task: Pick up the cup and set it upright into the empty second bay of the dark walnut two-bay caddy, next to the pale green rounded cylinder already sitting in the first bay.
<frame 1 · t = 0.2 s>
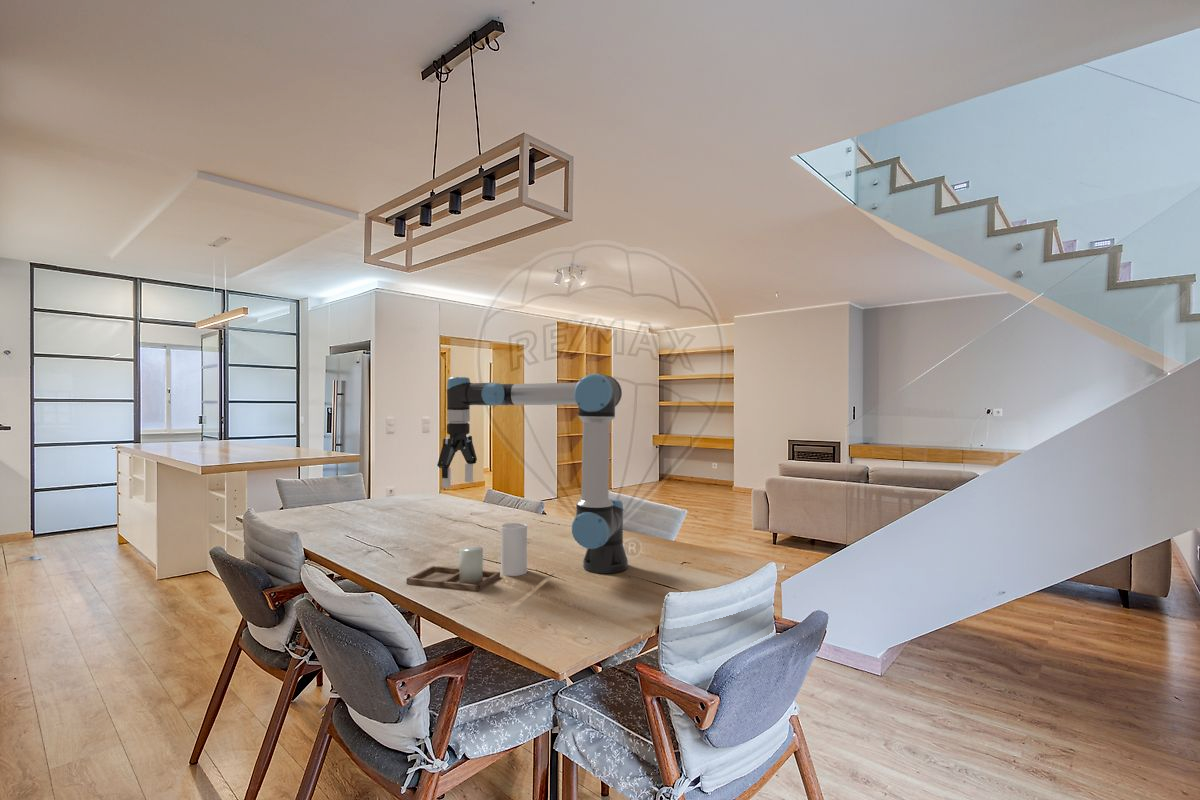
hand: (458, 485, 192), 27 cm above the table, fingers open, 13 cm apart
caddy: (454, 583, 173), on the table
pale green rounded cylinder: (471, 581, 172), point 1 cm above the table, touching caddy
cup: (513, 575, 182), on the table
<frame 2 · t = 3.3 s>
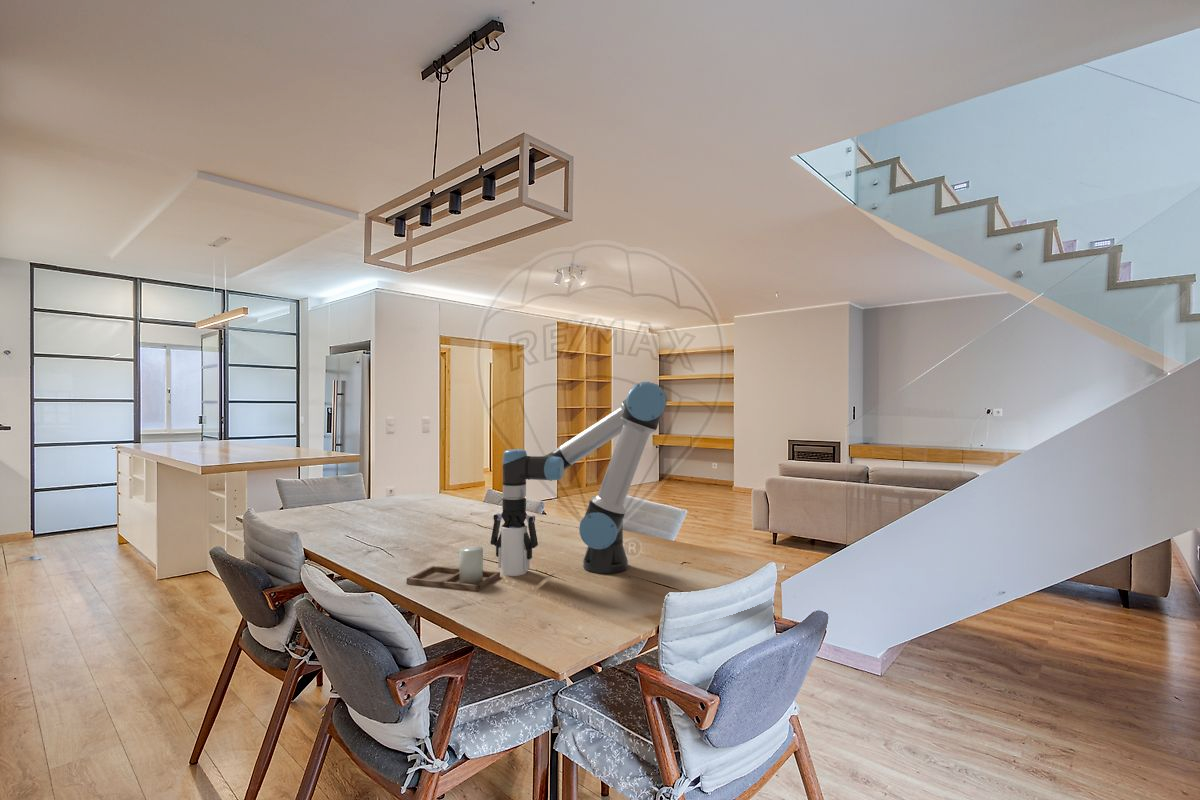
hand: (513, 567, 182), 2 cm above the table, fingers closed on cup, 8 cm apart
cup: (513, 575, 182), on the table, touching gripper
everything else where it was.
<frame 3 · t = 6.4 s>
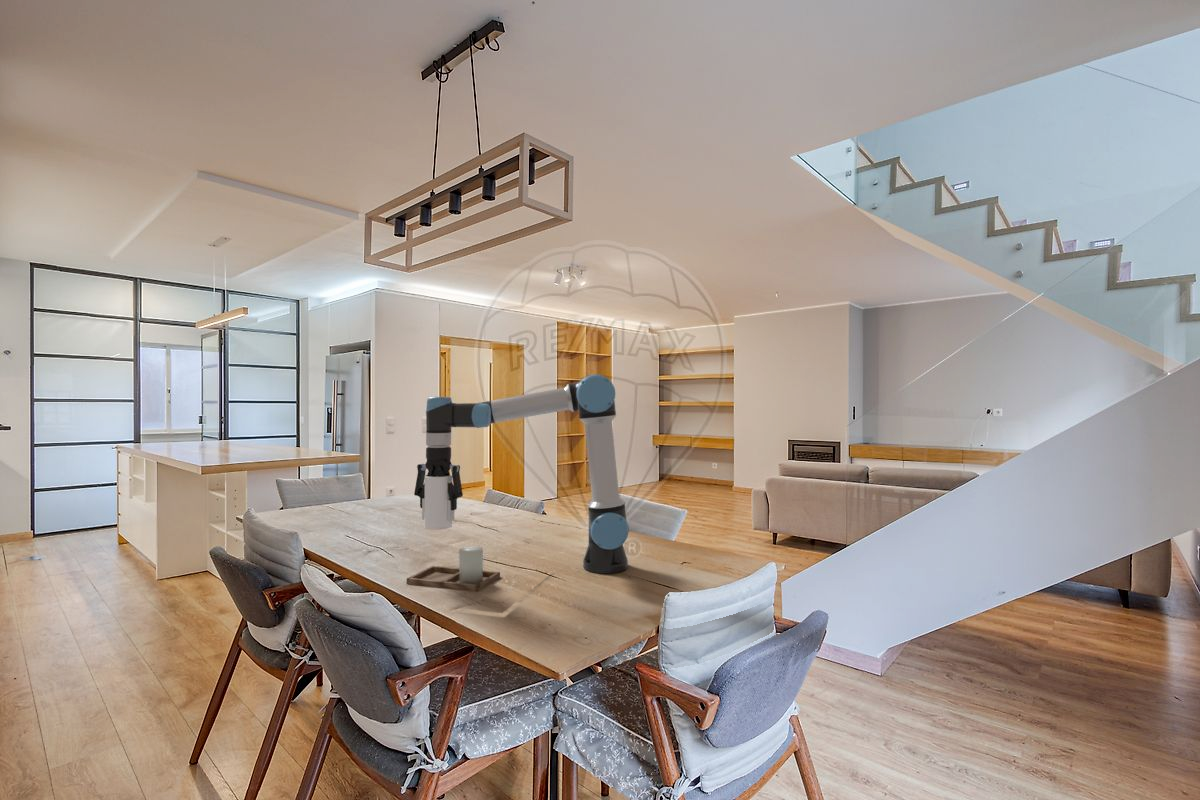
hand: (438, 519, 175), 19 cm above the table, fingers closed on cup, 8 cm apart
cup: (438, 527, 175), point 17 cm above the table, touching gripper
everything else where it was.
when the fingers open (5 cm above the table, at t = 9.4 s): cup drops 2 cm, resting on caddy.
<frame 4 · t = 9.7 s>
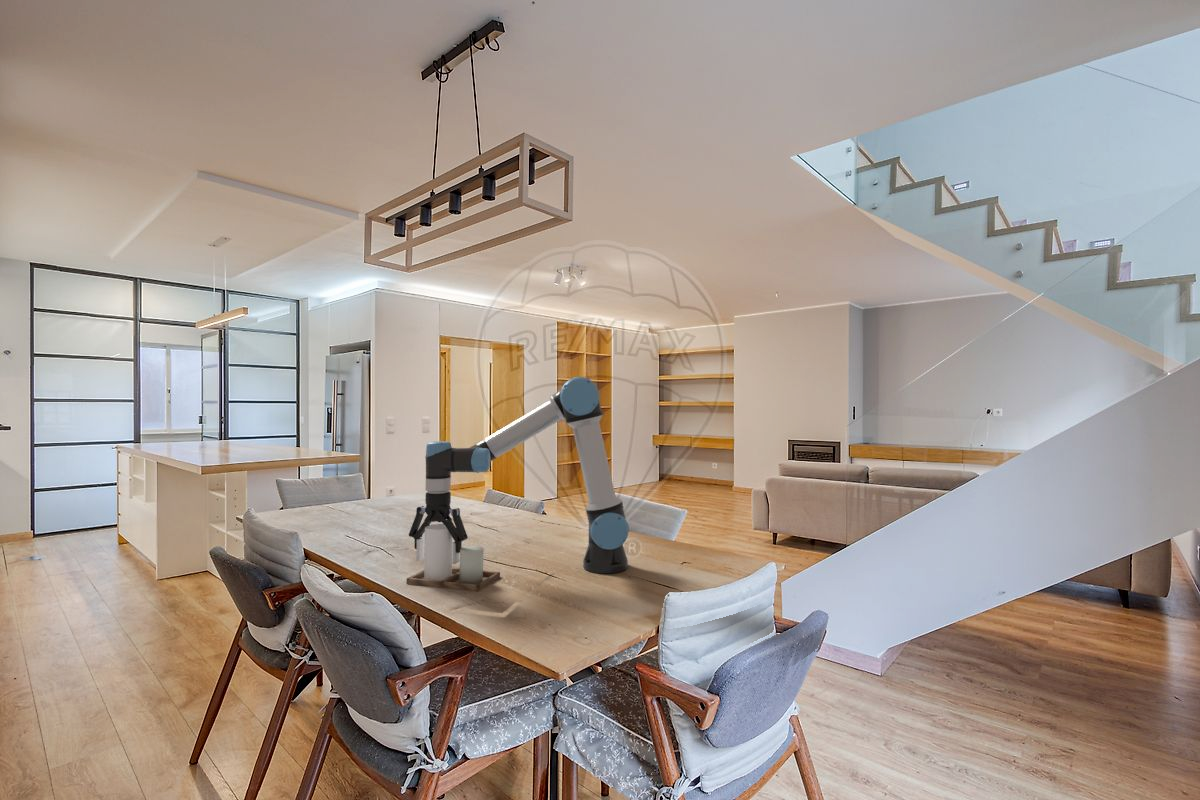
hand: (437, 561, 175), 6 cm above the table, fingers open, 12 cm apart
pale green rounded cylinder: (471, 581, 172), point 1 cm above the table, touching caddy, gripper
cup: (438, 579, 175), point 1 cm above the table, touching caddy
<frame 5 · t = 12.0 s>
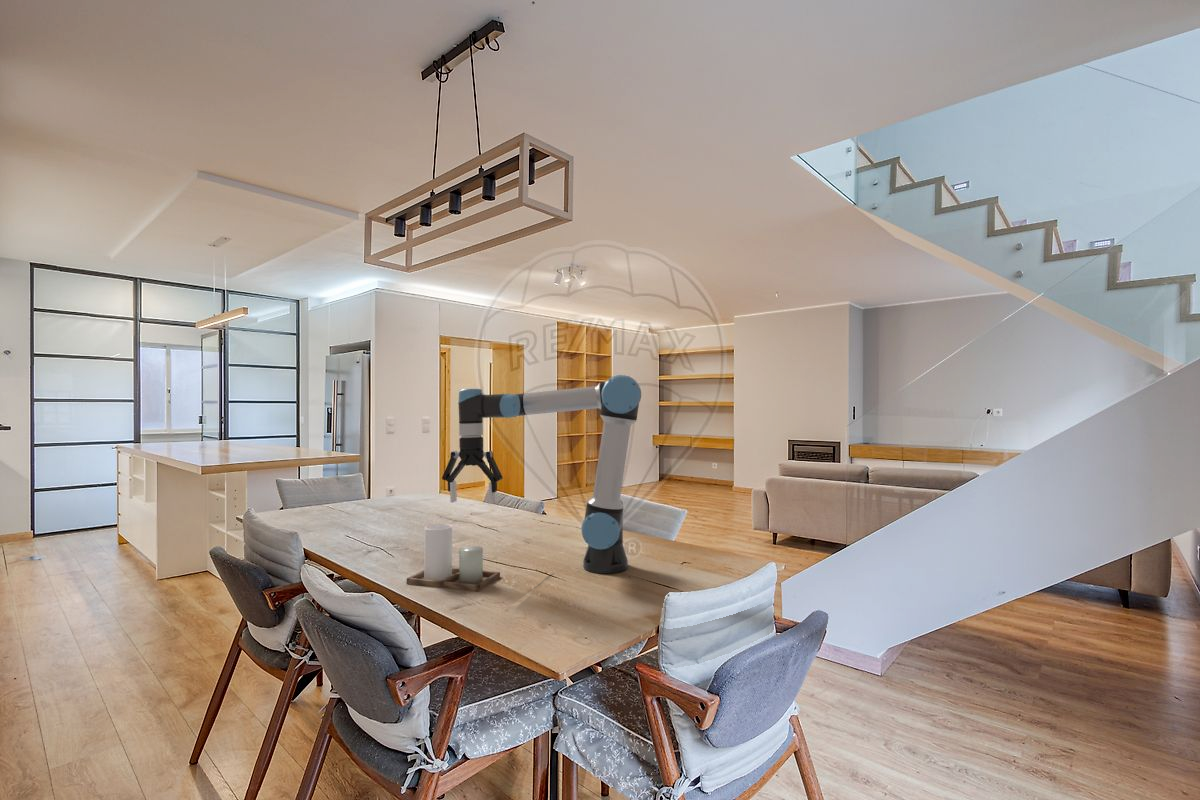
hand: (472, 502, 182), 23 cm above the table, fingers open, 13 cm apart
pale green rounded cylinder: (471, 581, 172), point 1 cm above the table, touching caddy
everything else where it was.
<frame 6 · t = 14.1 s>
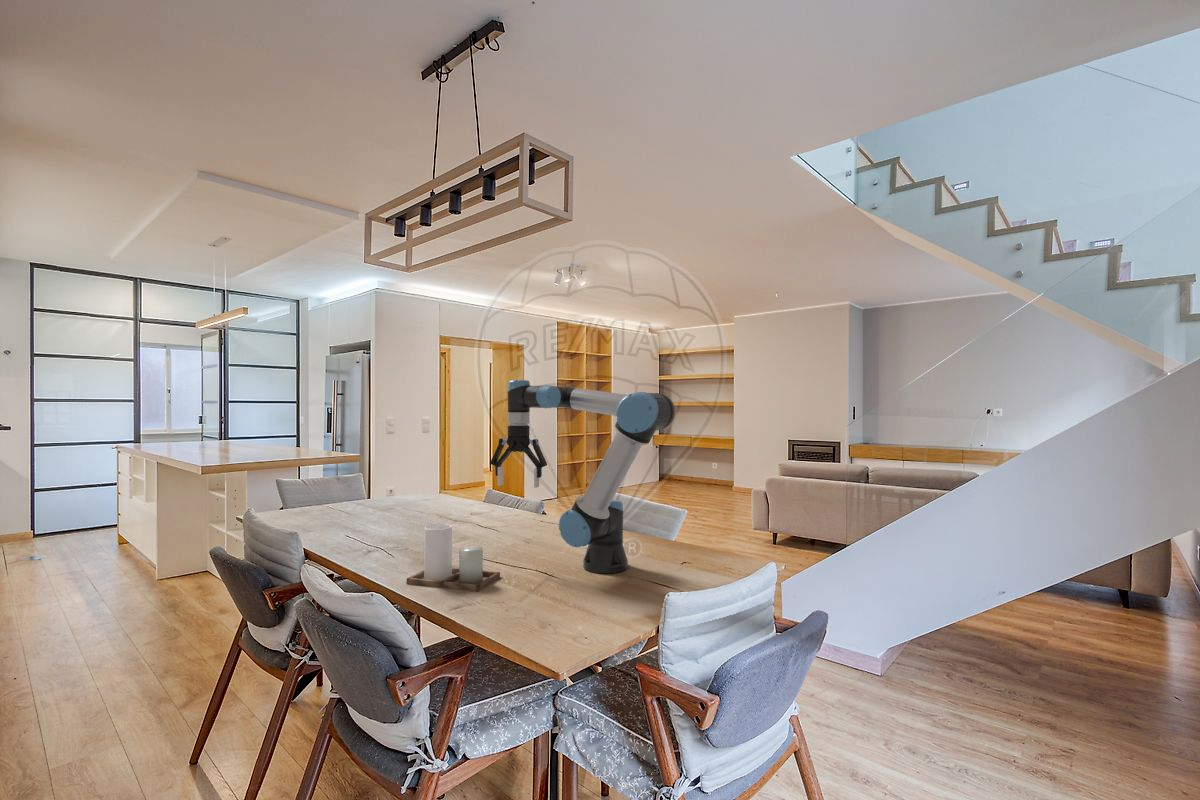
hand: (518, 486, 195), 27 cm above the table, fingers open, 13 cm apart
nothing on the table moved.
at the end: cup inside the target area on the caddy (0.2 cm from its centre), point 0.8 cm above the caddy's base; cup tilted 0°; pale green rounded cylinder moved 0.0 cm from its start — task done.
